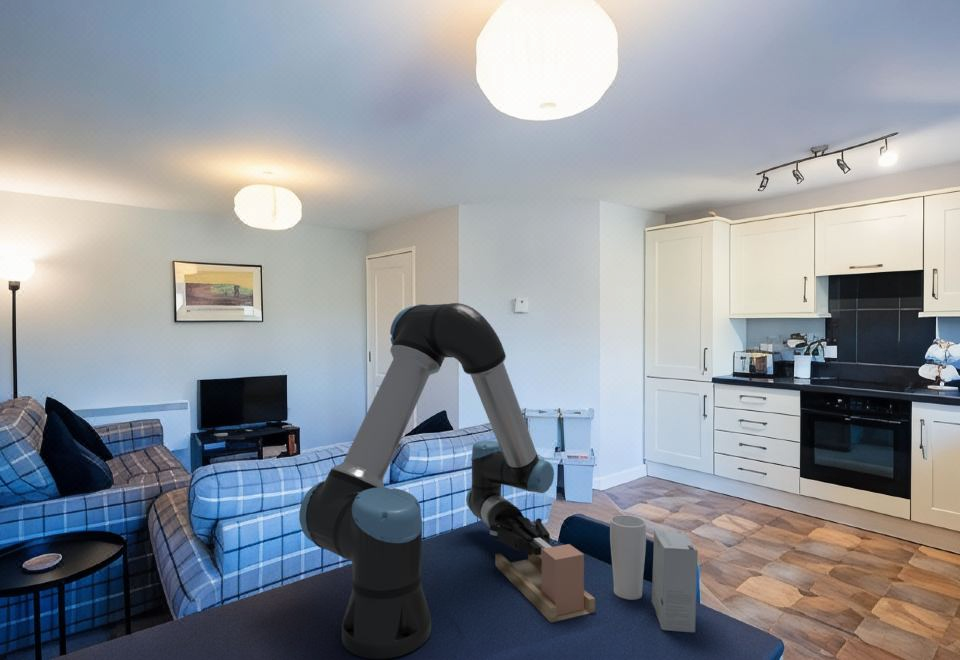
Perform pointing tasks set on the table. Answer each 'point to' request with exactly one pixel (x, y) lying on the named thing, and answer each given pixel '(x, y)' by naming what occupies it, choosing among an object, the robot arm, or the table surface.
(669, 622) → the skincare box
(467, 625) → the table surface
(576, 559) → the terracotta block
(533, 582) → the shallow wooden tray
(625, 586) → the drinking glass
